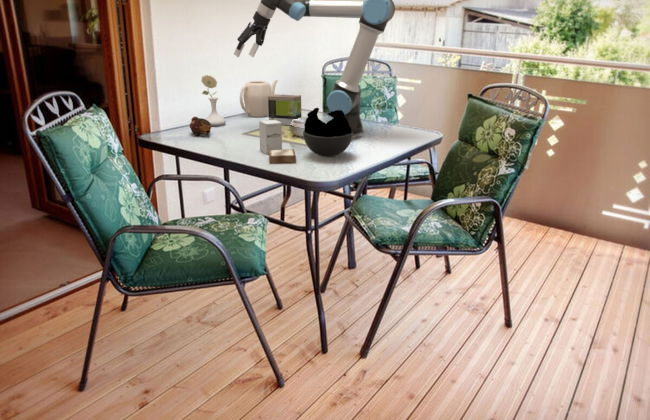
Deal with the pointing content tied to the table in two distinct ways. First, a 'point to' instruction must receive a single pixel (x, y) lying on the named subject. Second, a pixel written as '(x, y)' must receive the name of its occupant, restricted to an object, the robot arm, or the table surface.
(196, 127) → the painted clay ocarina
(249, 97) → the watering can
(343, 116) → the bowl of black rocks
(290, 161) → the walnut base
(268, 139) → the supplement box
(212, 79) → the flower in vase
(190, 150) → the table surface
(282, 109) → the tea box
